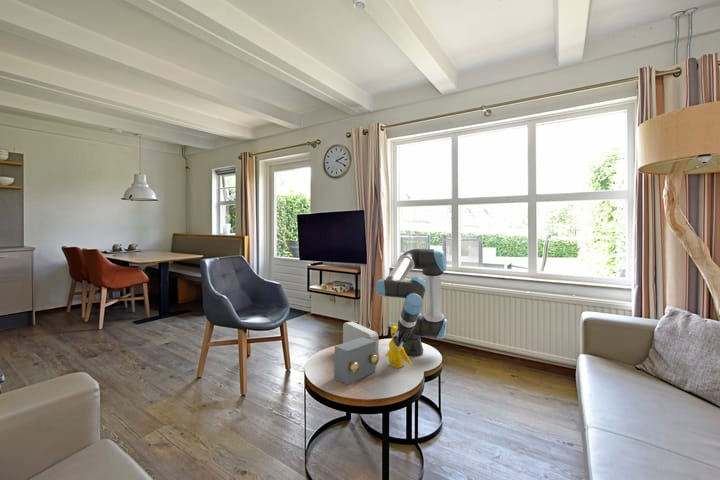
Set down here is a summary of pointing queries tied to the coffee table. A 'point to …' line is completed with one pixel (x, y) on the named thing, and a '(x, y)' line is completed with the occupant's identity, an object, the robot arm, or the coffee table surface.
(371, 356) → the knob
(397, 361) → the figure statuette
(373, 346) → the knob housing
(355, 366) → the knob
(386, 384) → the coffee table surface
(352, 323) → the rounded white slab
